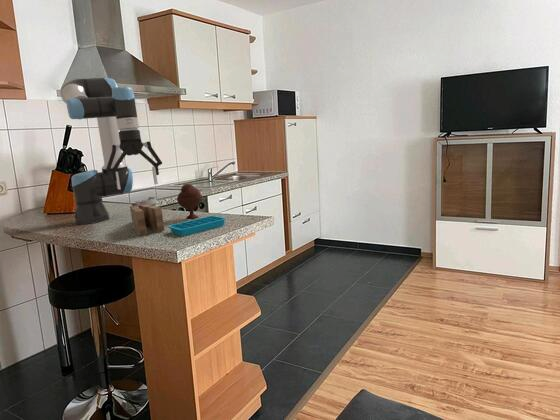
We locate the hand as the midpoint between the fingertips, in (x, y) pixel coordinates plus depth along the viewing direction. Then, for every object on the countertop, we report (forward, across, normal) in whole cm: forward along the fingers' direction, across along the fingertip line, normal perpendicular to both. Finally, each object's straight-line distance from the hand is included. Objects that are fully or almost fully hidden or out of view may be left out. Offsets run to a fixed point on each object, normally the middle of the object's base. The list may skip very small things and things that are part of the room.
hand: (138, 186), depth 162 cm
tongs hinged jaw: (+18, +4, +4) cm, 18 cm away
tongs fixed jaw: (+18, -1, +5) cm, 19 cm away
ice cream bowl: (+18, +22, +12) cm, 31 cm away
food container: (+18, +6, +21) cm, 28 cm away
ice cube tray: (+19, +18, -11) cm, 28 cm away
